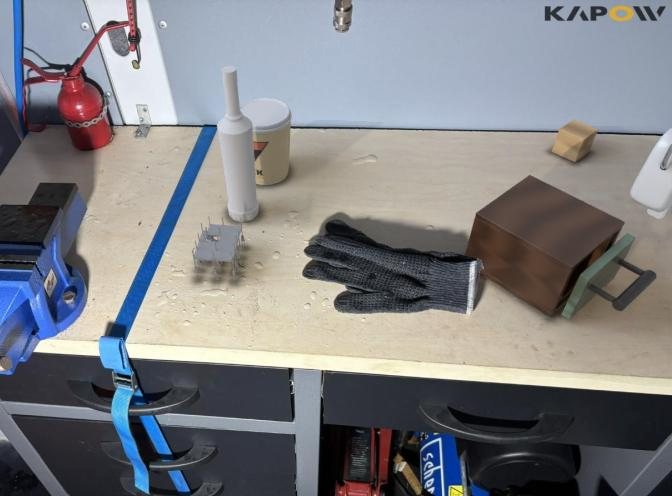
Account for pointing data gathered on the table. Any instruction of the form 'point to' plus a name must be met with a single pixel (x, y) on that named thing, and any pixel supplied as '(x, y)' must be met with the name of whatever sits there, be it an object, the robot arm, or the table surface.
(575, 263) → the cabinet
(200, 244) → the building frame
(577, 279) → the drawer
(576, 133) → the block
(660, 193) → the robot arm
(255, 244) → the table surface
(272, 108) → the beige lidded tub
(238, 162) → the bottle
